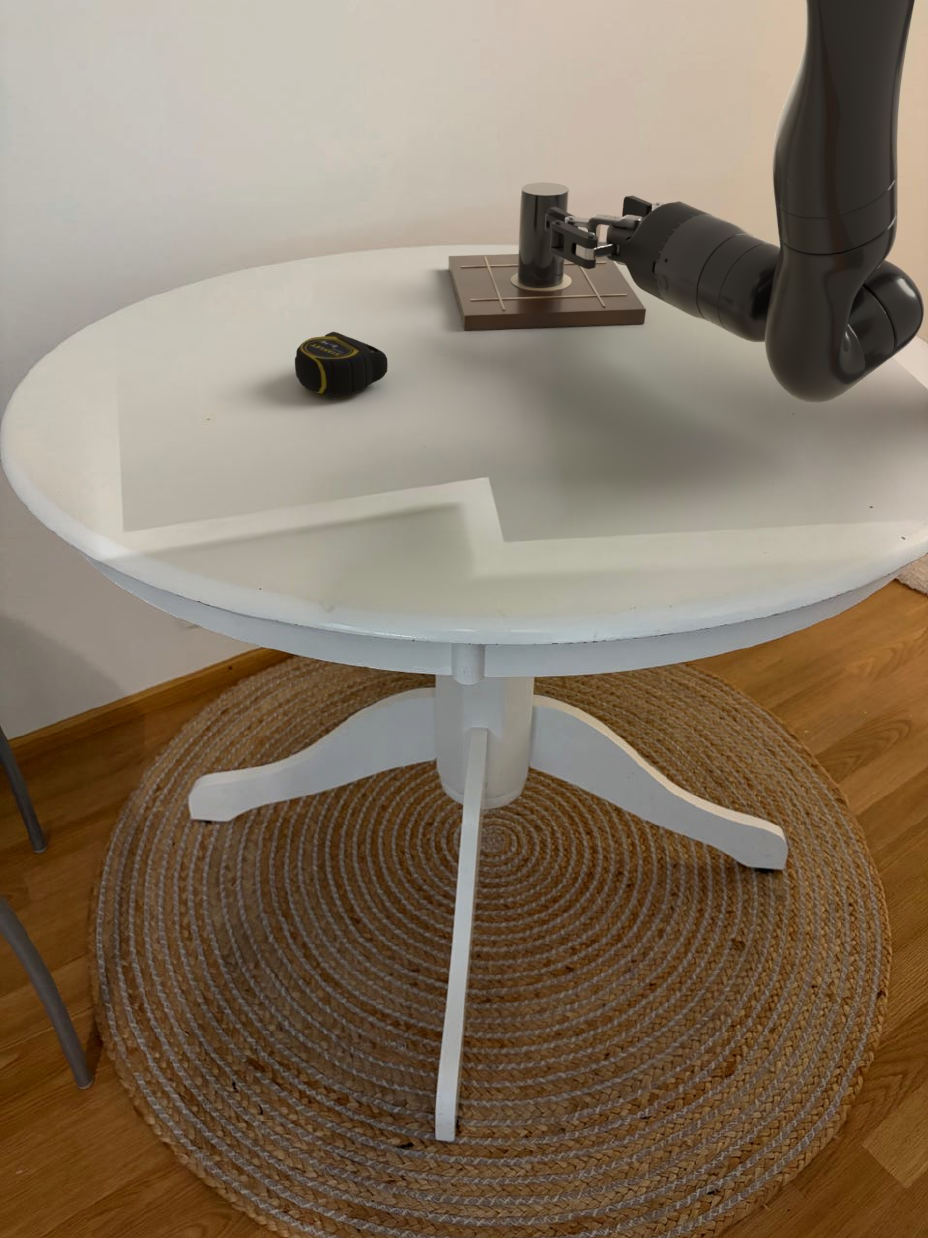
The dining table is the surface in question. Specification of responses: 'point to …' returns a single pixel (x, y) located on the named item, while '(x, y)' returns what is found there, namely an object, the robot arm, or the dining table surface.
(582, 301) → the board
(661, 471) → the dining table surface
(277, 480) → the dining table surface
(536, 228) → the canister
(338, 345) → the tape measure
